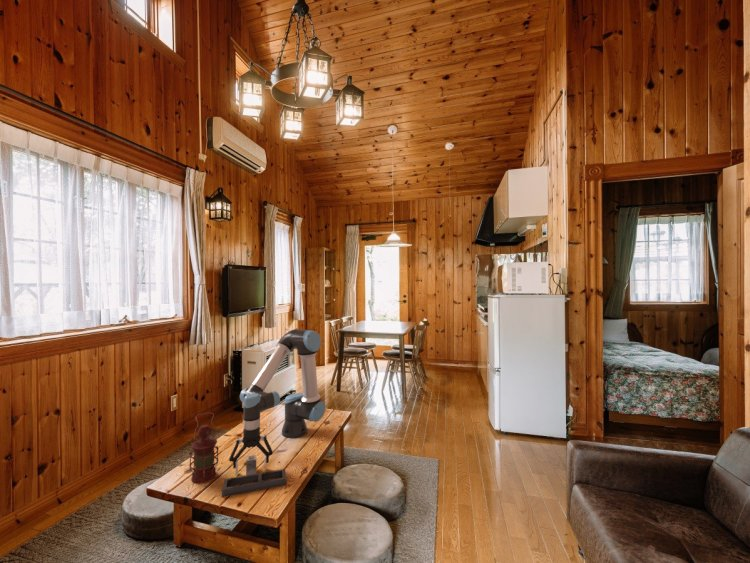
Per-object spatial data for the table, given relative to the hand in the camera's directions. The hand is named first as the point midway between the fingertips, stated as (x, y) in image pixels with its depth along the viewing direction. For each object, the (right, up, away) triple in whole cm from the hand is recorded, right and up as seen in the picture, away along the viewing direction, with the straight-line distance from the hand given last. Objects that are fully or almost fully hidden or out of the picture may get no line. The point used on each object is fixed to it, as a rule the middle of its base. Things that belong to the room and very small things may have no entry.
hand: (251, 472), depth 159 cm
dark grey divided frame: (+6, 0, -11) cm, 12 cm away
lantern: (-21, 0, -4) cm, 21 cm away
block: (0, 0, 0) cm, 0 cm away
